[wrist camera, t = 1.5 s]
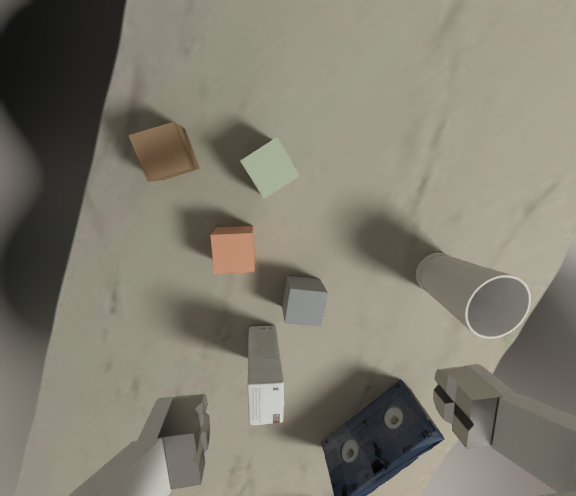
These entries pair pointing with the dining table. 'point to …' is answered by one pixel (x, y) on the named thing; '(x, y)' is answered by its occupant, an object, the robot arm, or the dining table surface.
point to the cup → (475, 294)
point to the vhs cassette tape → (379, 442)
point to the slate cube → (304, 301)
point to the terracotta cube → (233, 249)
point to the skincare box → (264, 376)
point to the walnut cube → (164, 151)
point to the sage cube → (270, 167)
